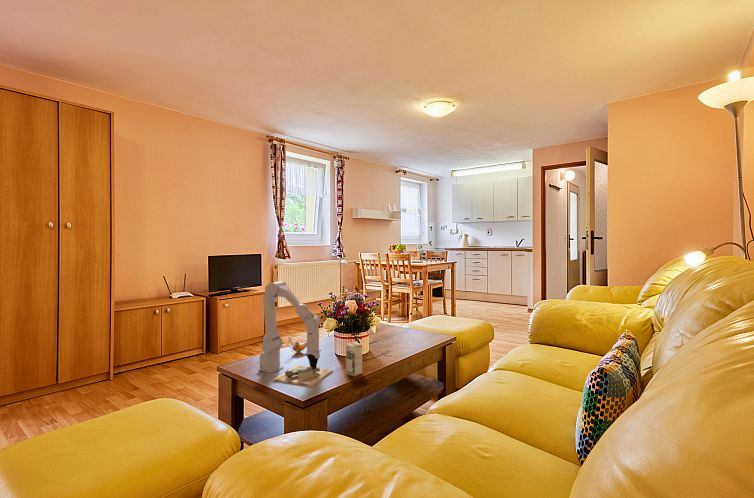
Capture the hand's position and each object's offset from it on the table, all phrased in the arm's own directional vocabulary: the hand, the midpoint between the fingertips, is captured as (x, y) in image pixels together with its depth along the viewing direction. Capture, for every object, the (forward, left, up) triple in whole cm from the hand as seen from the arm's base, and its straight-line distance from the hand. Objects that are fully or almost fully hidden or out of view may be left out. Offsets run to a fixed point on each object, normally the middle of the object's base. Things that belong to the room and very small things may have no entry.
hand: (313, 369), depth 179 cm
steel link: (-2, -6, 0) cm, 6 cm away
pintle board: (-2, -4, -2) cm, 5 cm away
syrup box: (+19, +7, -2) cm, 20 cm away
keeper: (0, -8, -1) cm, 8 cm away
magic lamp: (-23, +27, -2) cm, 36 cm away
